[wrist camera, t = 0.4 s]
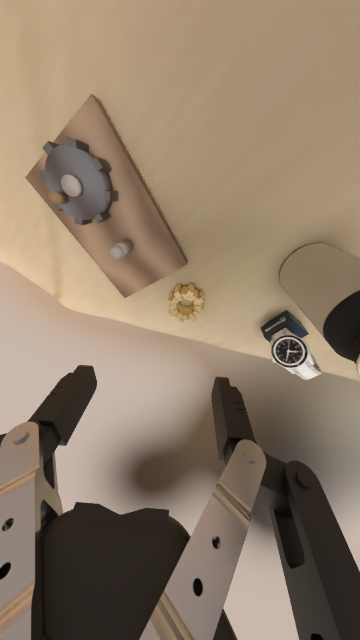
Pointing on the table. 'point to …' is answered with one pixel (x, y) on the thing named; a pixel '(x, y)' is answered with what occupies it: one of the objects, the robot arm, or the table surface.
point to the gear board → (123, 212)
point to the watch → (290, 346)
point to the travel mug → (327, 294)
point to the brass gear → (184, 311)
